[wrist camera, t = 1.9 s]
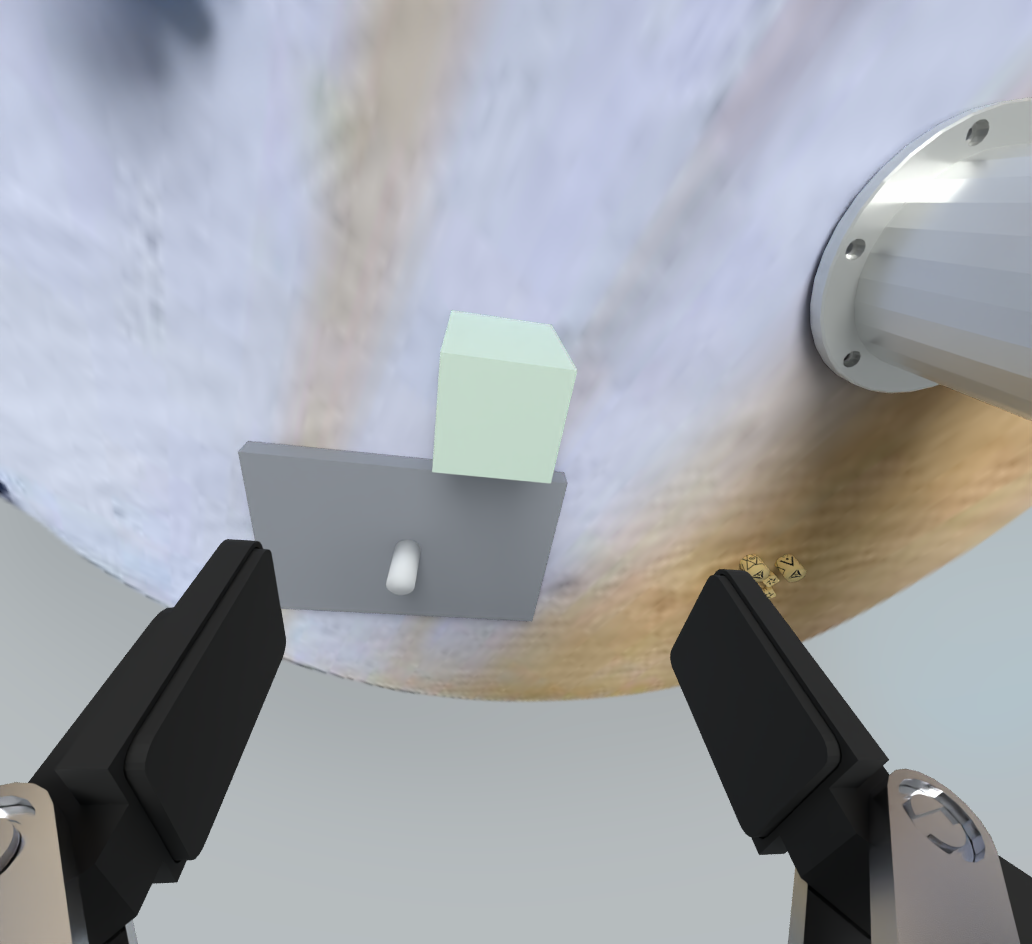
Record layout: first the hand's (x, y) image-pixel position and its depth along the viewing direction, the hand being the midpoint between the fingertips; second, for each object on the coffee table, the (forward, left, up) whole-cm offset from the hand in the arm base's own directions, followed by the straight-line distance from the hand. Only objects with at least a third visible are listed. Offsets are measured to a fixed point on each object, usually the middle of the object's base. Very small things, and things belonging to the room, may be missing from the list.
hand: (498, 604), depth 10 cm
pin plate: (+4, +12, -16) cm, 20 cm away
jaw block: (0, 0, -16) cm, 16 cm away
